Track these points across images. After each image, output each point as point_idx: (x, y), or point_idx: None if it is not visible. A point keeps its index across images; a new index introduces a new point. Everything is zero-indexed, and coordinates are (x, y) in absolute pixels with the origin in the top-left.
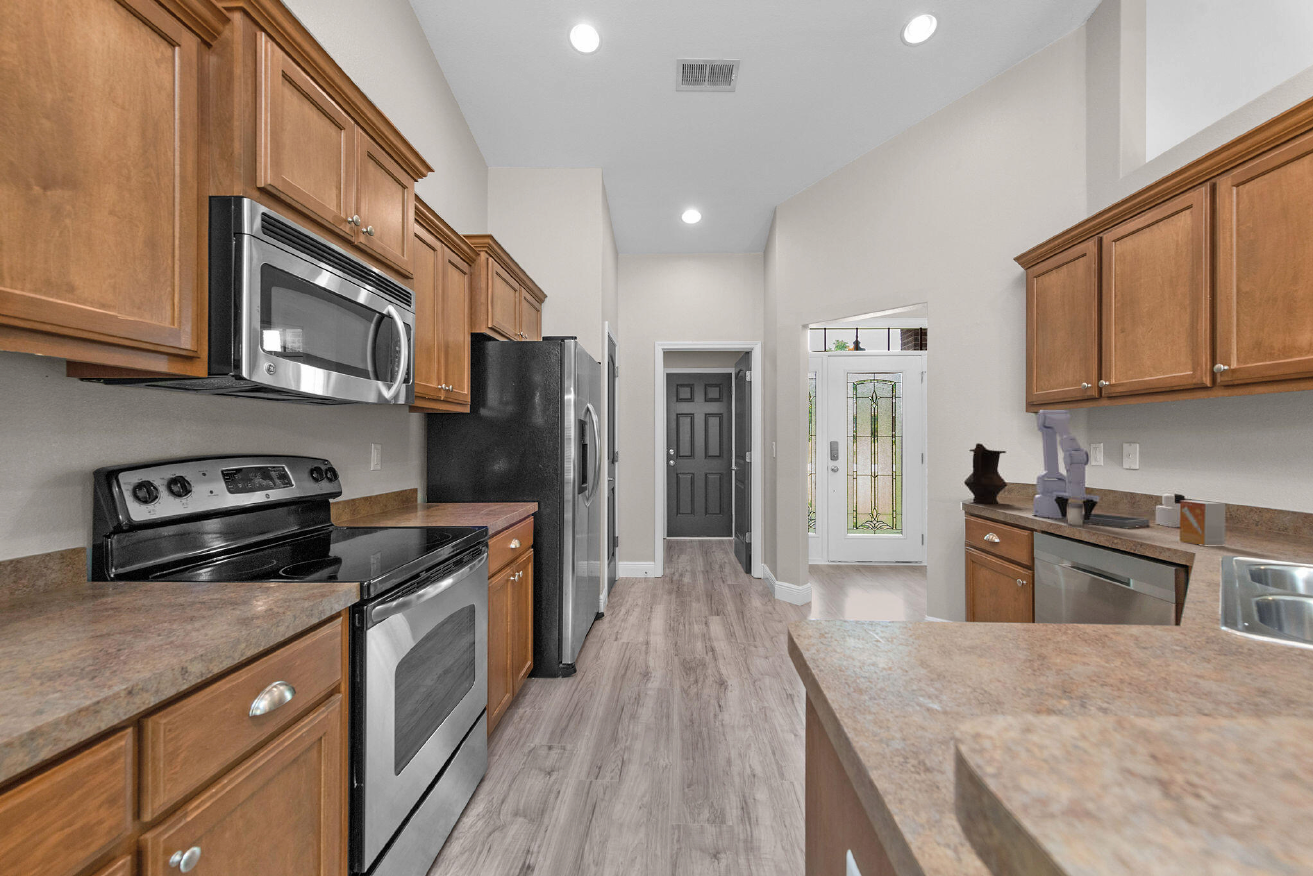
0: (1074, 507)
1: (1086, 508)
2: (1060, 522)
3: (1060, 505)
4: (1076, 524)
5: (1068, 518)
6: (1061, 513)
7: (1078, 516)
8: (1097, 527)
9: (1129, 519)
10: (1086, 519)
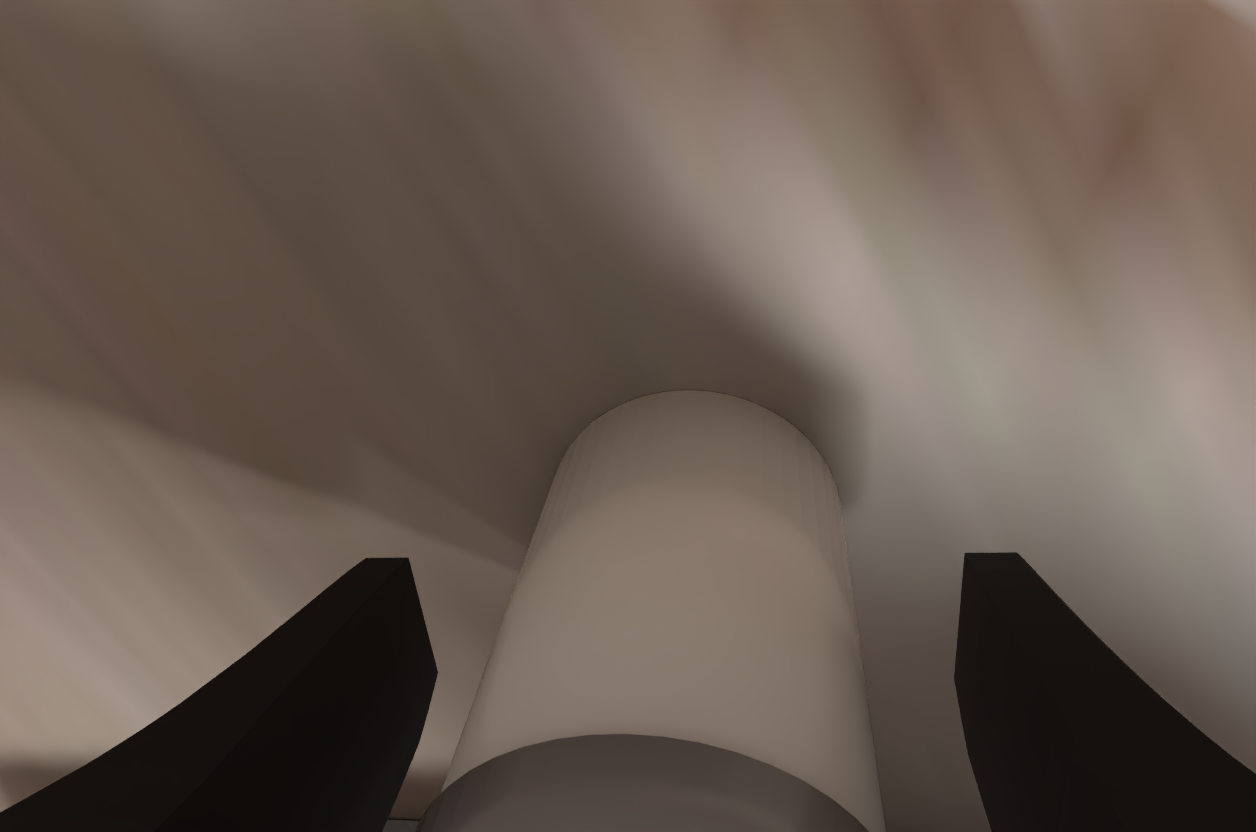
0: (527, 762)
1: (118, 784)
2: (1062, 551)
3: (1185, 827)
4: (591, 428)
5: (795, 510)
6: (1050, 611)
7: (519, 585)
8: (259, 527)
9: None
10: (357, 570)
